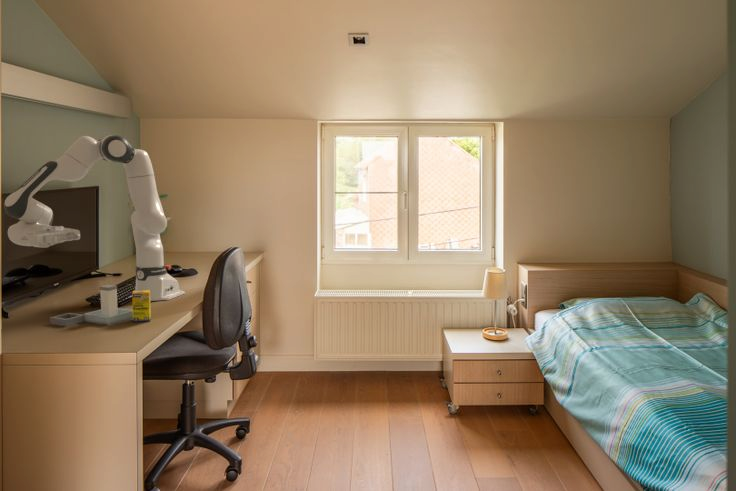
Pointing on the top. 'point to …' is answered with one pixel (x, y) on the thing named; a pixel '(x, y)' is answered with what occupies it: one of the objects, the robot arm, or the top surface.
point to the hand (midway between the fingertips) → (68, 238)
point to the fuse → (108, 300)
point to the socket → (67, 319)
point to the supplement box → (141, 306)
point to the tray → (98, 319)
